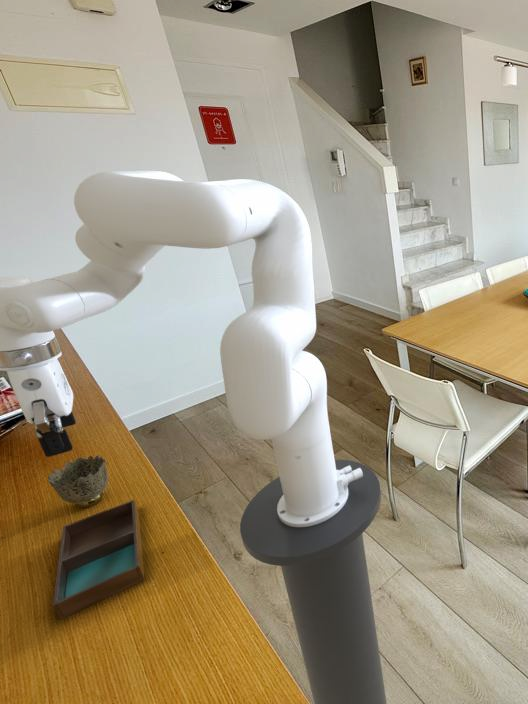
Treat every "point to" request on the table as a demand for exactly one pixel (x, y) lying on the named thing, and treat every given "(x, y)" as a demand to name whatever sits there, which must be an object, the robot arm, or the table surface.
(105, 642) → the table surface
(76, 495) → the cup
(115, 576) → the tray
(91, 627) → the table surface
